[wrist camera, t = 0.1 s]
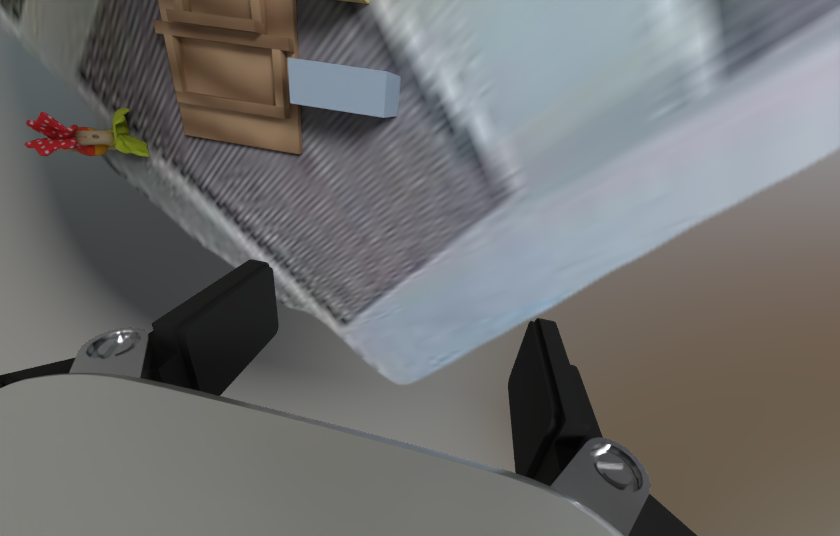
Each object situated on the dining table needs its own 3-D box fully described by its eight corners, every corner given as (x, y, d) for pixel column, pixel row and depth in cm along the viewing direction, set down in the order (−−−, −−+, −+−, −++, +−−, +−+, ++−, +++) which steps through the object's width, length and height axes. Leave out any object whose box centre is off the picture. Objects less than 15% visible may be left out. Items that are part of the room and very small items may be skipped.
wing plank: (315, 64, 37) (287, 57, 31) (401, 76, 36) (386, 71, 30) (316, 103, 38) (290, 103, 33) (397, 116, 37) (383, 117, 32)
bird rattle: (144, 163, 48) (163, 151, 43) (45, 185, 41) (51, 173, 35) (118, 120, 46) (134, 100, 41) (7, 133, 38) (8, 112, 33)
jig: (127, -189, 30) (89, -220, 27) (288, -178, 28) (267, -210, 25) (189, 134, 43) (169, 136, 40) (302, 153, 41) (289, 156, 38)
